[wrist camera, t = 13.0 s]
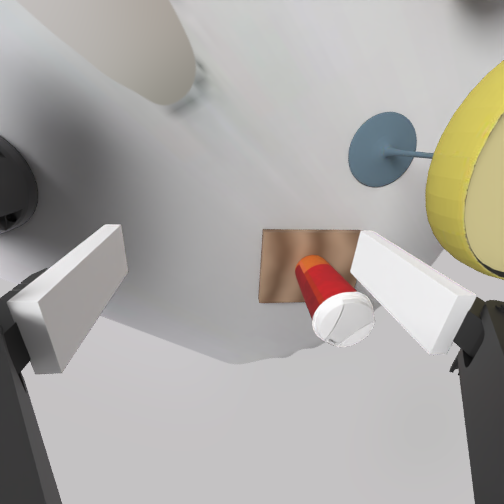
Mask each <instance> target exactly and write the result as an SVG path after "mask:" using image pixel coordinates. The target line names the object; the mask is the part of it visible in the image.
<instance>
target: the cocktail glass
mask: <svg viewBox="0 0 504 504" xmlns="http://www.w3.org/2000/svg"><path fill="white" fill-rule="evenodd" d="M416 141H417V140H416V133H415V129H414V127H413V125H412V123H411V122H410V121H409V120H408V119H407V118H406V117H405V116H403V115H401V114H399V113H395V112H385V113H381V114H378V115H376V116H373V117H372V118H370V119H369V120H367V121H366V122H365V123H364V124H363V125H362V126H361V127H360V128H359V129H358V131H357V132H356V134H355V135H354V137H353V140H352V142H351V145H350V148H349V166H350V169H351V172H352V174H353V175H354V177H355V178H356V179H357V180H358V181H359V182H361V183H362V184H364V185H367V186H372V187H379V186H384V185H387V184H389V183H391V182H393V181H395V180H396V179H397V178H399V177H400V176H401V175H402V174H403V173H404V172H405V171H406V169H407V168H408V166H409V165H410V163H411V161H412V159H413V157H419V158H430V159H432V161H431V165H430V168H429V171H428V177H427V184H426V211H427V216H428V221H429V224H430V226H431V229H432V231H433V234H434V235H435V237H436V238H437V240H438V241H439V243H440V244H441V246H442V247H443V248H444V249H445V250H447V251H448V252H449V253H450V254H451V255H452V256H453V257H454V258H456V259H457V260H459V261H460V262H462V263H464V264H465V265H467V266H469V267H471V268H473V269H475V270H476V271H479V272H481V273H483V274H486V275H488V276H492V277H496V278H499V279H503V280H504V60H503V61H502V62H501V63H500V64H499V65H497V66H496V67H495V68H494V69H493V70H491V71H490V72H489V73H488V74H487V75H486V76H485V77H484V78H483V79H482V80H481V81H480V82H479V83H478V85H477V86H476V87H475V88H474V89H473V90H472V91H471V92H470V93H469V94H468V96H467V97H466V98H465V100H464V101H463V103H462V104H461V105H460V107H459V108H458V109H457V111H456V112H455V113H454V115H453V117H452V118H451V120H450V122H449V124H448V125H447V127H446V129H445V130H444V132H443V134H442V136H441V138H440V140H439V143H438V145H437V147H436V150H435V152H434V153H425V152H415V150H416Z"/></svg>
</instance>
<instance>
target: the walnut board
mask: <svg viewBox="0 0 504 504" xmlns="http://www.w3.org/2000/svg"><path fill="white" fill-rule="evenodd" d="M360 231H361V230H281V229H263V235H262V251H261V267H260V282H259V298H258V299H259V303H284V302H305V300H304V297H303V295H302V292H301V290H300V287H299V284H298V281H297V279H296V275H295V268H296V265H297V264H298V262H299V261H300V260H301V259H302V258H304V257H306V256H309V255H318V256H320V257H322V258H323V259H325V260H326V261H327V262H328V263H329V264H330V265H331V266H332V267H333V268H334V269H335V270H336V271H337V272H338V273H339V274H340V275H341V276H342V277H343V278H344V279H345V280H346V281H347V282H348V283H349V284H350V285H351V286H352V287H353V288H354V287H355V283H356V278H355V277H354V276H353V275H352V274H351V272H350V270H351V266H352V262H353V259H354V255H355V251H356V247H357V243H358V239H359V235H360Z"/></svg>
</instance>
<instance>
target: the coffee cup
mask: <svg viewBox="0 0 504 504" xmlns="http://www.w3.org/2000/svg"><path fill="white" fill-rule="evenodd" d="M295 275H296V279H297V281H298V284H299V287H300V290H301V292H302V295H303V297H304V300H305V303H306V305H307V308H308V310H309V313H310V315H311V318H312V327H313V330H314V332H315V334H316V335H317V336H318V337H319V338H320V339H322V340H323V341H325V342H327V343H329V344H331V345H335V346H336V347H348V346H352V345H355V344H357V343H359V342H361V341H362V340H364V339H365V338H366V337H367V336H368V335H369V334H370V333H371V331H372V329H373V327H374V324H375V318H374V309H373V305H372V303H371V301H370V299H369V297H367V296H366V295H364V294H362V293H360V292H357V291H356V290H355V289H354V288H353V287H352V286H351V285H350V284H349V283H348V282H347V281H346V280H345V279H344V278H343V277H342V276H341V275H340V274H339V273H338V272H337V271H336V270H335V269H334V268H333V267H332V266H331V265H330V264H329V263H328V262H327V261H326V260H325V259H323V258H322V257H320V256H318V255H309V256H306V257H304V258H302V259H301V260H300V261H299V262H298V264H297V265H296V268H295Z"/></svg>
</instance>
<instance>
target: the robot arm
mask: <svg viewBox="0 0 504 504" xmlns="http://www.w3.org/2000/svg"><path fill="white" fill-rule="evenodd" d="M37 199H38V192H37V185H36V181H35V178H34V176H33V173H32V171H31V169H30V168H29V166H28V164H27V163H26V161H25V160H24V159H23V157H22V156H21V155H20V154H19V152H18V151H17V150H16V149H15V148H14V147H13V146H12V145H11V144H9V143H8V142H7V141H6V140H4V139H3V138H2V137H0V233H4V232H7V231H9V230H11V229H14V228H16V227H18V226H20V225H22V224H24V223H25V222H26V221H27V220H28V219H29V218H30V217H31V216H32V214H33V213H34V211H35V208H36V205H37ZM350 272H351V274H352V275H353V276H354V277H355V278H356V279H357V280H358V281H359V282H360V283H361V284H362V285H363V286H364V287H365V288H366V289H367V290H368V291H369V292H370V293H371V294H372V295H373V296H374V298H375V299H376V300H377V301H378V302H379V303H380V304H381V305H382V306H383V307H384V308H385V309H386V310H387V311H388V312H389V313H390V314H391V315H392V316H393V317H394V318H395V319H396V320H397V322H398V323H399V324H400V325H401V326H402V327H403V328H404V329H405V330H406V331H407V332H408V333H409V334H410V335H411V336H412V337H413V338H414V339H415V340H416V341H417V342H418V343H419V344H420V345H421V346H422V348H423V349H424V350H425V351H426V352H427V353H428V354H429V355H440V354H447V353H448V351H449V349H450V347H451V345H452V343H453V342H455V343H456V344H457V345H458V346H459V347H460V348H461V349H460V351H459V353H458V355H457V357H456V359H455V360H454V362H453V364H452V366H451V368H450V372H453V371H454V370H455V369H458V368H459V373H458V375H459V376H460V385H461V393H462V401H463V409H464V417H465V425H466V433H467V442H468V450H469V458H470V466H471V474H472V482H473V491H474V499H475V504H504V302H501V301H497V300H489V301H486V302H484V301H483V300H481V299H480V298H478V297H477V295H476V294H474V293H472V292H471V291H469V290H467V289H466V288H464V287H463V286H461V285H459V284H458V283H456V282H455V281H453V280H451V279H450V278H448V277H447V276H445V275H443V274H442V273H440V272H439V271H437V270H435V269H434V268H432V267H431V266H429V265H427V264H426V263H424V262H422V261H421V260H419V259H418V258H416V257H414V256H413V255H411V254H410V253H408V252H406V251H405V250H403V249H402V248H400V247H398V246H397V245H395V244H394V243H392V242H390V241H389V240H387V239H385V238H384V237H382V236H381V235H379V234H377V233H376V232H374V231H364V230H361V231H360V235H359V239H358V243H357V247H356V251H355V255H354V259H353V262H352V266H351V270H350ZM127 273H128V266H127V259H126V253H125V246H124V240H123V233H122V227H121V225H117V224H105V225H104V226H102V227H101V228H100V229H98V230H97V231H96V232H95V233H93V234H92V235H91V236H90V237H88V238H87V239H86V240H85V241H83V242H82V243H81V244H79V245H78V246H77V247H76V248H74V249H73V250H72V251H71V252H69V253H68V254H67V255H65V256H64V257H63V258H62V259H60V260H59V261H58V262H57V263H55V264H54V265H53V266H52V267H50V268H45V269H43V270H41V271H39V272H37V273H34V274H32V275H30V276H29V277H28V278H26V279H25V280H24V281H22V282H21V284H18V285H17V286H16V287H14V288H13V289H12V291H9V292H8V293H7V294H5V295H4V296H2V297H1V298H0V504H62V502H61V499H60V495H59V492H58V489H57V485H56V482H55V479H54V476H53V473H52V469H51V466H50V463H49V459H48V456H47V453H46V449H45V446H44V443H43V440H42V436H41V433H40V430H39V427H38V424H37V420H36V417H35V413H34V410H33V407H32V404H31V400H30V397H29V394H28V391H27V387H26V384H25V381H24V378H23V376H22V374H21V371H22V370H23V368H24V367H25V366H26V364H27V363H28V362H29V361H30V362H31V365H32V367H33V369H34V372H35V374H53V373H62V372H63V371H64V369H65V368H66V366H67V365H68V363H69V362H70V360H71V358H72V357H73V355H74V354H75V352H76V351H77V349H78V348H79V346H80V345H81V343H82V342H83V340H84V339H85V337H86V336H87V334H88V333H89V331H90V330H91V328H92V326H93V325H94V324H95V322H96V320H97V319H98V317H99V316H100V314H101V313H102V311H103V310H104V308H105V307H106V305H107V304H108V302H109V301H110V299H111V298H112V296H113V295H114V293H115V292H116V290H117V289H118V287H119V285H120V284H121V282H122V281H123V279H124V278H125V276H126V275H127Z"/></svg>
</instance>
